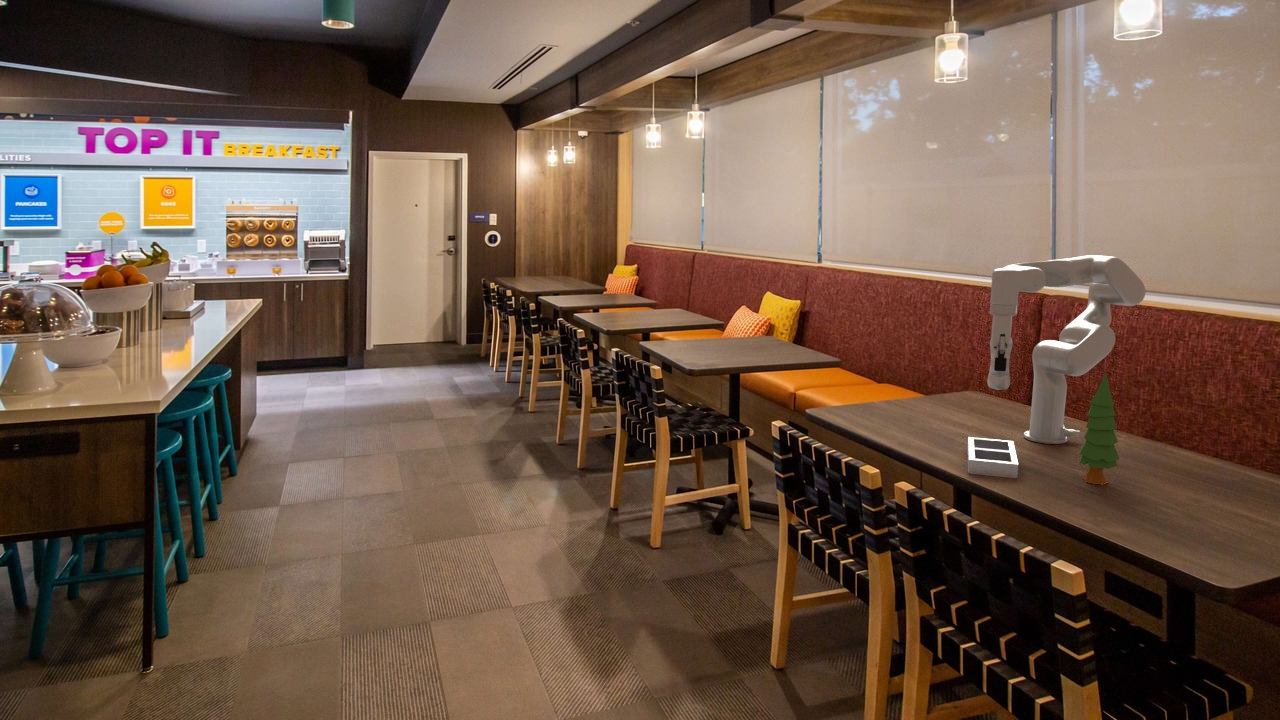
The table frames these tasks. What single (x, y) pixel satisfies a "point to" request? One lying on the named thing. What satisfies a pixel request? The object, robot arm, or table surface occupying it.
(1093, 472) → the decorative tree
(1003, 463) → the white flat box
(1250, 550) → the table surface
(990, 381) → the plastic bottle
